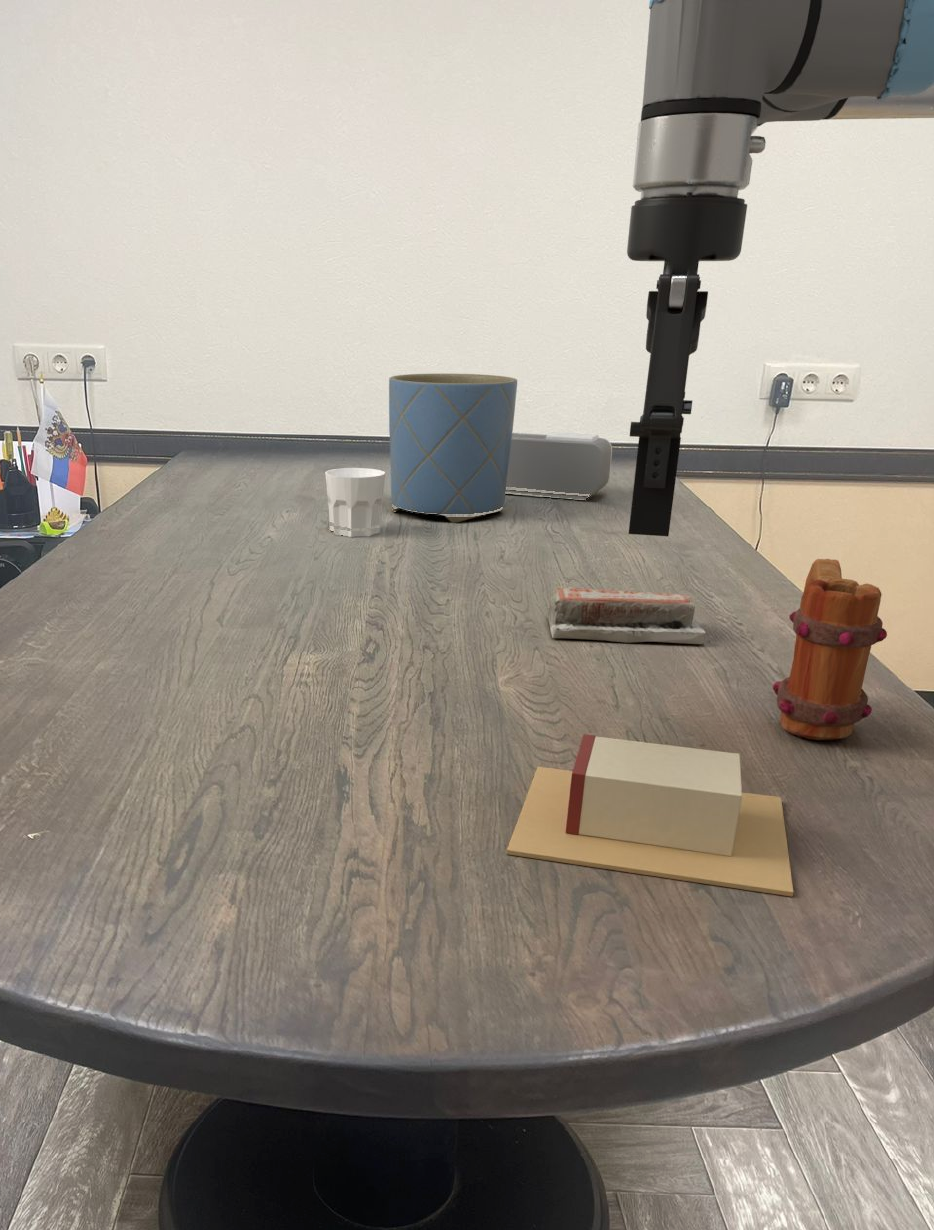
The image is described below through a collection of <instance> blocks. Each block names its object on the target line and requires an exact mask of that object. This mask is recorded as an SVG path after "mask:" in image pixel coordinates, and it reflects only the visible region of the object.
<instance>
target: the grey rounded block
mask: <svg viewBox="0 0 934 1230" xmlns="http://www.w3.org/2000/svg"><path fill="white" fill-rule="evenodd" d="M612 456H613V446H612V443H611V442H610V441H609V440H608V439H607V438H604V437H599V435H598V434H591V433H590V434H588V433H574V432H573V433H570V432H555V431H554V432H551V433H549V434H546V433H545V434H544V433H530V432H528V433H527V432H521V433H520V432H512V440H511V448H510V455H509V464H508V473H507V482H506V487H516V488H527V489H536V490H546V491H555V492H565V493H579V494H590V495H591V494H593V495H594V494H596V493H598V492H599V491H600V490H602V489H603V488H604V487H606V485H607V484H608V483H609V480H610V476H611V467H612V459H613V458H612ZM505 492H511V493H521V494H532V495H543V496H551V497H559V498H572V499H584V500H585V499H586V498H587V497H588V496H578V495H566V494H553V493H541V492H528V491H516V490H506V491H505ZM590 495H589V496H590ZM585 501H586V500H585Z"/></svg>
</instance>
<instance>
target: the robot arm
mask: <svg viewBox="0 0 934 1230" xmlns="http://www.w3.org/2000/svg"><path fill="white" fill-rule="evenodd" d="M648 3H649V4H648V9H649V21H648V33H647V34H648V35H647V47H646V56H645V57H646V59H645V71H644V84H643V96H642V108H641V113H640V114H641V115H640V121H639V122H638V124H637V125H638V126H637V137H636V147H635V158H634V169H633V179H632V180H633V181H632V188H633V189H634V190H635V192H639V193H640V199H637V200H635V201H634V205H631V207H630V218H629V226H628V236H627V237H628V238H627V247H626V254H627V257H628V259H630V260H631V261H635V262H663V269H662V270H663V271H662V274H659V276H658V280H656V290H649V291H648V293H647V294H648V295H647V301H646V312H645V313H646V314H645V315H646V319H647V321H648V322H647V329H646V337H645V338H646V340H645V350H646V352H648V353H649V354H650V356H649V362H648V363H649V364H648V371H647V379H646V387H645V395H644V404H643V410H642V411H643V412H642V414H641V415H640V417H639V421H630V428H629V437H634V438H638V443H637V451H636V453H637V454H636V460H635V461H636V463H635V471H634V479H633V490H632V499H631V507H630V516H629V523H628V524H629V526H628V535H639V536H655V537H669V535H670V529H671V520H672V511H673V505H674V504H673V503H674V496H675V487H676V480H677V473H678V472H677V471H678V464H679V456H680V448H681V439H682V437H681V435H682V432H683V427H684V420H685V417H684V416H683V415H691V414H692V409H693V400H690V399H689V400H688V399H685V398H686V385H687V378H688V368H689V361H690V360H689V359H690V355H692V354H694V353H695V352H696V351H697V350H698V347H699V339H700V332H701V322H702V321H703V320H704V319H705V318H706V312H707V305H708V298H709V291H708V290H707V291H706V290H700V289H701V284H702V280H701V276H700V274H698V271H699V263H700V262H729V261H735V260H737V258H739V256H740V255H741V252H742V247H743V239H744V234H745V233H744V232H745V226H746V220H747V219H746V218H747V211H748V203H746V199H744V198H740V197H739V191H742V190H745V189H746V188H747V187H748V186H749V185H750V181H751V175H752V174H751V173H752V168H753V158H752V156H751V154H761V153H763V152H764V150H765V149H766V145H767V144H766V143H767V141H766V138H765V136H761V135H753V134H754V133H755V131H756V130H757V129H758V127H761V126H762V125H764V124H766V123H775V122H812V121H813V122H814V121H822V120H823V121H824V120H825V121H826V120H827V121H828V120H881V119H882V120H885V119H886V120H887V119H890V120H891V119H892V120H893V119H934V0H649V2H648Z"/></svg>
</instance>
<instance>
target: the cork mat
mask: <svg viewBox="0 0 934 1230" xmlns="http://www.w3.org/2000/svg"><path fill="white" fill-rule="evenodd" d="M572 771H573V770H567V769H560V768H553V767H544V766H537V767H536V770H535V773H534V776H533V778H532V781H531V783H530V786H529V788H528V792H527V794H526V797H525V799H524V803H523V805H522V808H521V811H520V813H519V816H518V819H517V821H516V824H515V827H514V830H513V832H512V835H511V837H510V841H509V843H508V846H507V848H506V855H509V856H515V857H522V858H530V859H537V860H542V861H549V862H556V863H562V864H570V865H575V866H583V867H590V868H596V869H603V870H610V871H616V872H622V873H629V874H630V873H632V874H637V875H643V876H650V877H657V878H664V879H671V880H678V881H683V882H690V883H697V884H702V885H703V884H704V885H709V886H717V887H722V888H723V887H724V888H729V889H730V888H731V889H738V890H745V891H751V892H758V893H764V894H772V895H777V896H784V897H791V898H792V897H794V887H793V885H794V884H793V878H792V870H791V863H790V855H789V847H788V839H787V832H786V824H785V817H784V809H783V801H782V797H781V796H774V795H765V794H759V793H751V792H750V793H749V792H743V791H742V800H741V806H740V811H739V817H738V822H737V828H736V833H735V839H734V844H733V850H732V855H731V856H725V855H718V854H711V853H704V852H697V851H690V850H684V849H677V848H670V847H663V846H656V845H649V844H642V843H635V842H629V841H622V840H615V839H608V838H601V837H594V836H587V835H580V834H579V835H574V834H567V833H566V823H567V814H568V805H569V795H570V786H571V777H572Z"/></svg>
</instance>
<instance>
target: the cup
mask: <svg viewBox="0 0 934 1230" xmlns="http://www.w3.org/2000/svg"><path fill="white" fill-rule="evenodd" d="M324 473H325V483H326V495H327V504H328V505H327V506H328V507H327V508H328V521H329V523H330V522H332V523H334V526H341V527H347V528H350V529H353V528H371V527H372V526H375V525H380V527H379V528H374V529H371V531H366V530H364V531H352V532H351V531H347V530H340V529H334V527H333V526H330V525H329V531H330V530H331V531H334V532H333V533H334V536H341V535H343V536H342V537H348V538H357V537H371V536H373V535H376V534H381V523H382V512H383V511H382V510H383V500H384V492H385V491H384V489H385V481H386V480H385V479H386V471H384V470H381V469H376V468H367V467H344V468H343V467H342V468H334V469H329V470H326V471H325V472H324ZM331 531H330V532H331Z"/></svg>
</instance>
